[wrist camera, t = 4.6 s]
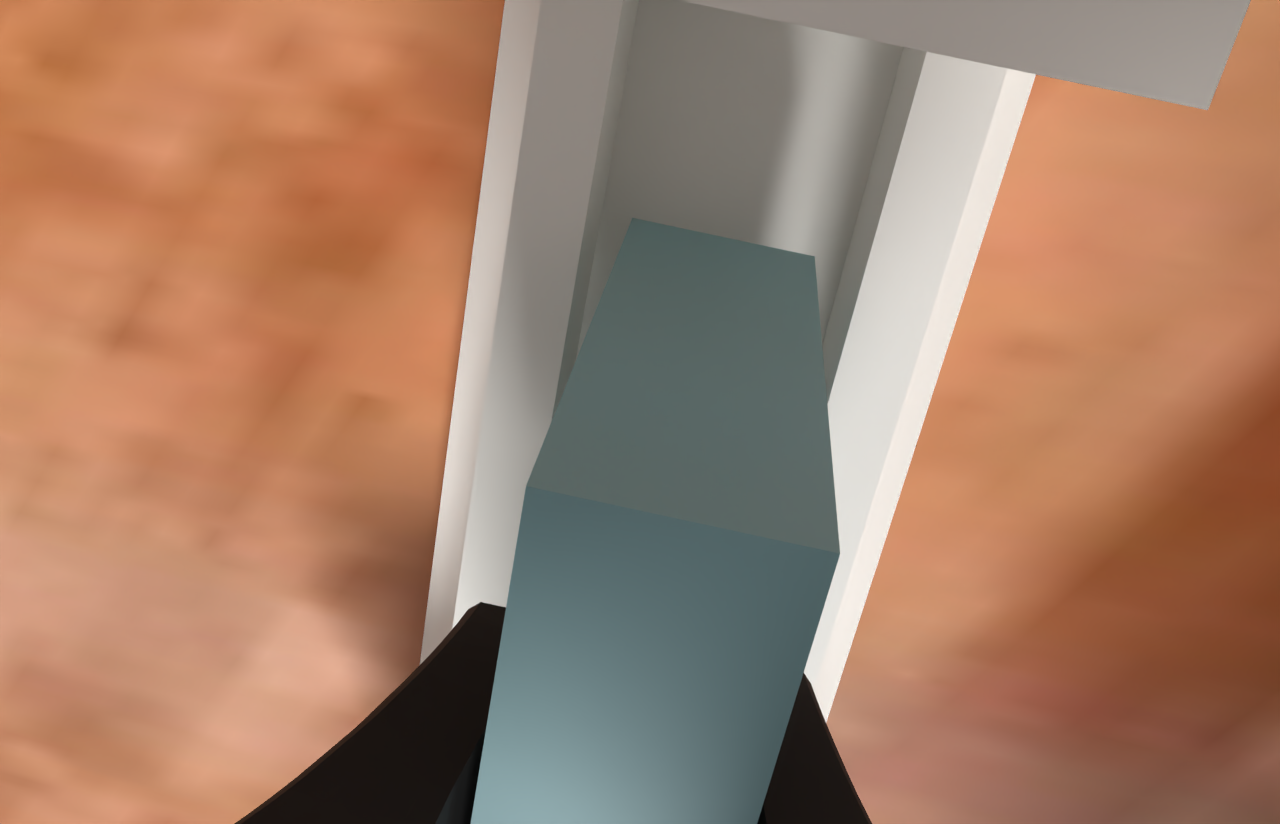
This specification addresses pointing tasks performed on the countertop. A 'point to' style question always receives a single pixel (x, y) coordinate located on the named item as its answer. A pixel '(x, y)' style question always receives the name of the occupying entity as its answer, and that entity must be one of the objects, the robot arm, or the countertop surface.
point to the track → (763, 213)
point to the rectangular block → (669, 547)
